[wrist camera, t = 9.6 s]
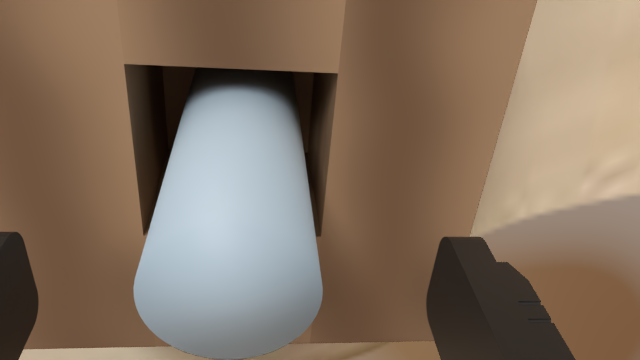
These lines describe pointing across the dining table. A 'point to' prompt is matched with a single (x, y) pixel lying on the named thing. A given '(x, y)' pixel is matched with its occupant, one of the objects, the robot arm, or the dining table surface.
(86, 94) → the socket block
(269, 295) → the dowel
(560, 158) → the dining table surface
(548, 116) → the dining table surface
